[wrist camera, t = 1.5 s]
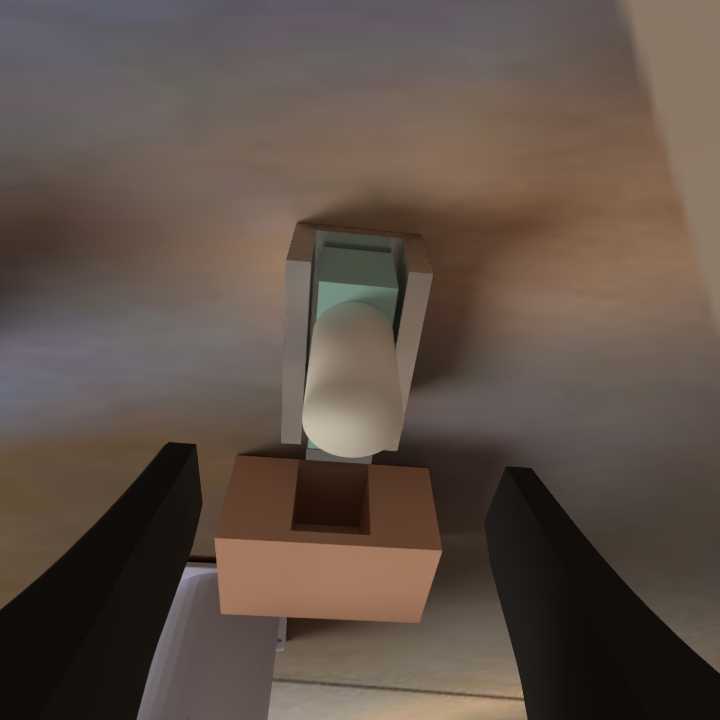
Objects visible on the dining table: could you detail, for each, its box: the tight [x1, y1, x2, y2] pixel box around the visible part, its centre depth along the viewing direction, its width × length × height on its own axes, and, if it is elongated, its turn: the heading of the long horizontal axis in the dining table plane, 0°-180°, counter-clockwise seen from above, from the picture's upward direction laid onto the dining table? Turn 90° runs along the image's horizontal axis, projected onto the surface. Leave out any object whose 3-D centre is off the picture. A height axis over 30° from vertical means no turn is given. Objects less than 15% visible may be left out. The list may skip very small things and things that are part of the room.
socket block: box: [215, 455, 442, 623], centre depth 26 cm, size 6×10×5 cm, turn 84°
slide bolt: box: [302, 247, 404, 464], centre depth 18 cm, size 8×3×7 cm, turn 174°
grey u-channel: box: [281, 223, 433, 451], centre depth 20 cm, size 8×5×4 cm, turn 174°
